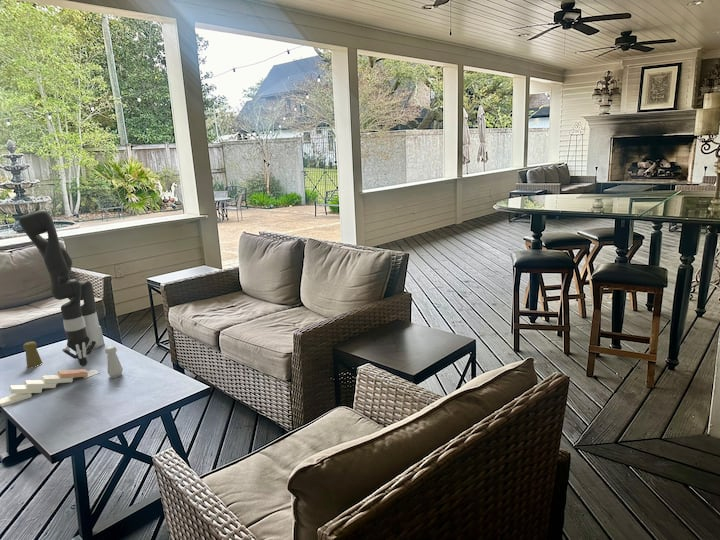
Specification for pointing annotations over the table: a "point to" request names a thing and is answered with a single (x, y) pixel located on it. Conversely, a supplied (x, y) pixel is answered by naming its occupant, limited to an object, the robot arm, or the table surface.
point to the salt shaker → (113, 362)
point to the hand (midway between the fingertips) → (83, 365)
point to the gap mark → (92, 373)
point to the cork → (32, 354)
